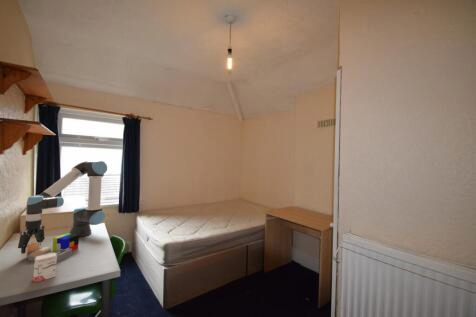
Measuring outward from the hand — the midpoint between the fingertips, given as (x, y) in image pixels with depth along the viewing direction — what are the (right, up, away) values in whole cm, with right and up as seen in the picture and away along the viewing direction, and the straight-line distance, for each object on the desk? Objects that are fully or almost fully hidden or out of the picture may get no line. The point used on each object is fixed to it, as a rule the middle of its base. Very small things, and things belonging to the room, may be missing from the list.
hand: (31, 254), depth 134 cm
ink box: (+31, -2, -23) cm, 38 cm away
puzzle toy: (+13, -2, +11) cm, 17 cm away
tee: (0, -1, 0) cm, 1 cm away
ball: (0, +5, 0) cm, 5 cm away
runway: (+13, -3, 0) cm, 13 cm away
